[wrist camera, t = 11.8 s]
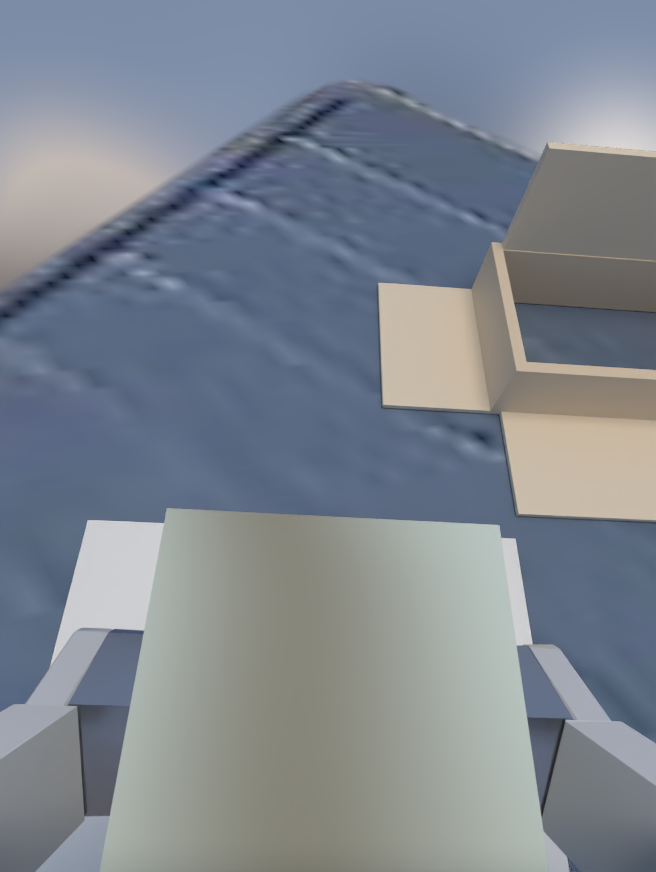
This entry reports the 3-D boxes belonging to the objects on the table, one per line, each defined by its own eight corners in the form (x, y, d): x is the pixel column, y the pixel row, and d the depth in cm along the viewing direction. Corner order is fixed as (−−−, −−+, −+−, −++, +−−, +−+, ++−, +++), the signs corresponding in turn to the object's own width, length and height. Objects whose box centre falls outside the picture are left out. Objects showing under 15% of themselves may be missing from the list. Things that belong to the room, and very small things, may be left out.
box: (398, 618, 13) (499, 524, 7) (407, 839, 11) (564, 977, 5) (220, 611, 13) (167, 508, 7) (192, 836, 11) (79, 979, 5)
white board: (510, 542, 25) (515, 538, 25) (582, 1003, 18) (592, 1011, 17) (92, 524, 24) (87, 519, 24) (-31, 1007, 16) (-41, 1016, 16)
